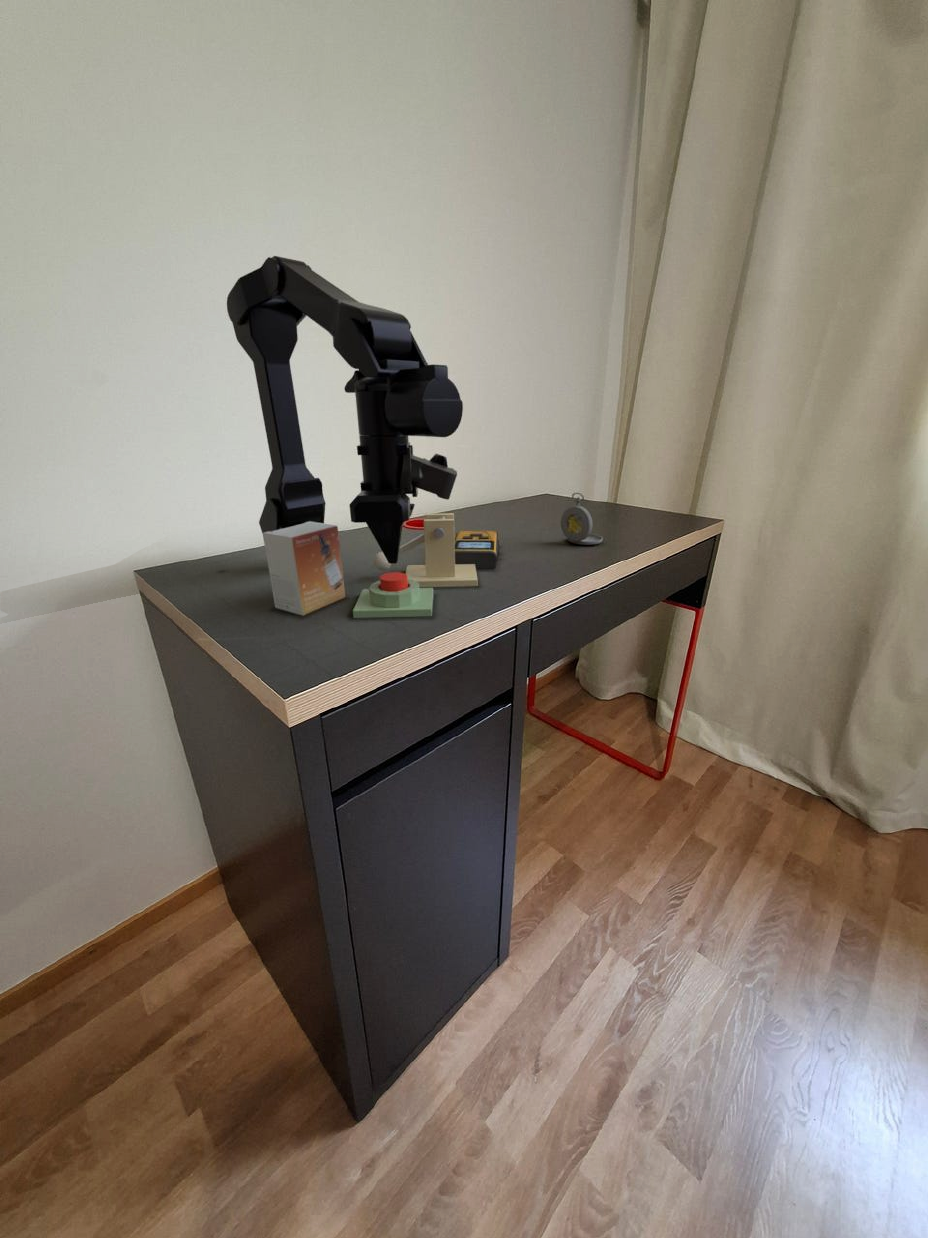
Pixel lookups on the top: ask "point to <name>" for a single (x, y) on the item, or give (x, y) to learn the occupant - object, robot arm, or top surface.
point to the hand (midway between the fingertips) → (393, 562)
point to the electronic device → (477, 548)
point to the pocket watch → (579, 525)
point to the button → (393, 582)
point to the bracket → (441, 557)
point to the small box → (305, 566)
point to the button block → (394, 602)
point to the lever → (382, 561)
